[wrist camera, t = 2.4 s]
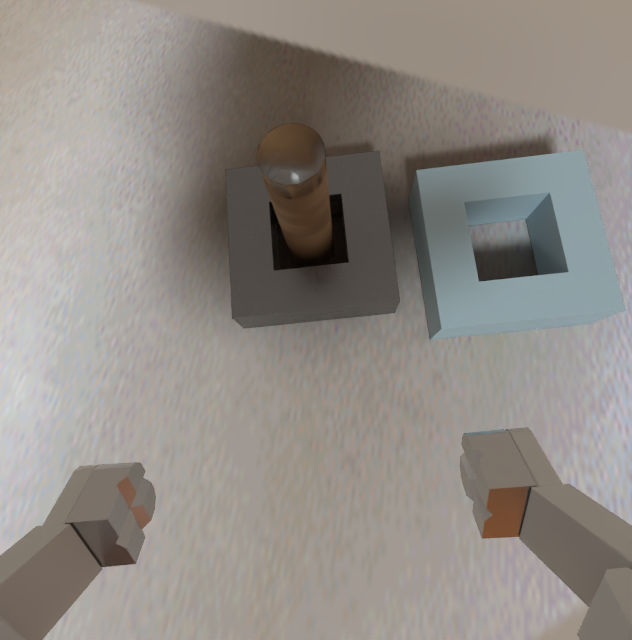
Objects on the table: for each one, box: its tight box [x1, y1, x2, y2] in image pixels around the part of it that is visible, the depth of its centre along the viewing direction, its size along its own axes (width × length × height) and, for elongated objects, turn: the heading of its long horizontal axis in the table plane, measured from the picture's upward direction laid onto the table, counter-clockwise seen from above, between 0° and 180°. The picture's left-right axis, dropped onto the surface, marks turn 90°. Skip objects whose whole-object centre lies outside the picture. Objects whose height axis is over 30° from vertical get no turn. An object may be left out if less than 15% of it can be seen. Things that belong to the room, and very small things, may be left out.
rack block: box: [409, 150, 626, 340], centre depth 26 cm, size 10×10×4 cm
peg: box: [257, 124, 334, 268], centre depth 24 cm, size 3×3×11 cm
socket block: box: [226, 151, 400, 328], centre depth 28 cm, size 10×10×3 cm
